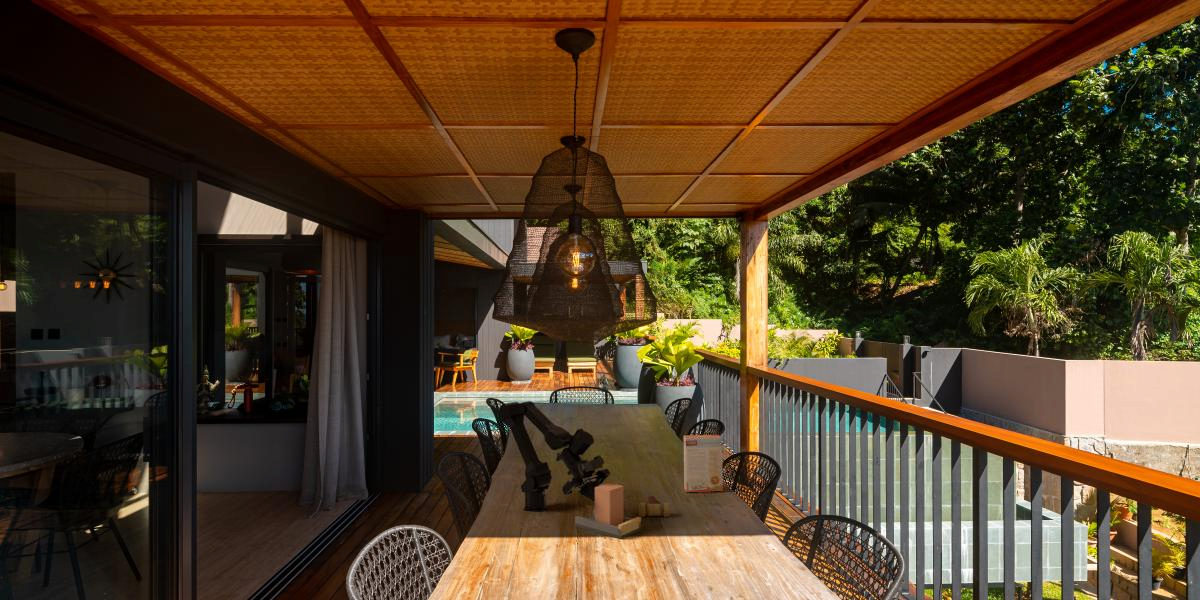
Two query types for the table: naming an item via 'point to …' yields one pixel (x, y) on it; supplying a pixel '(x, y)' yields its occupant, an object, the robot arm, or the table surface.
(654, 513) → the gavel
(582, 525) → the gray tray
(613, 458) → the table surface
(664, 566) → the table surface
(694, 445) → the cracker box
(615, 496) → the block
